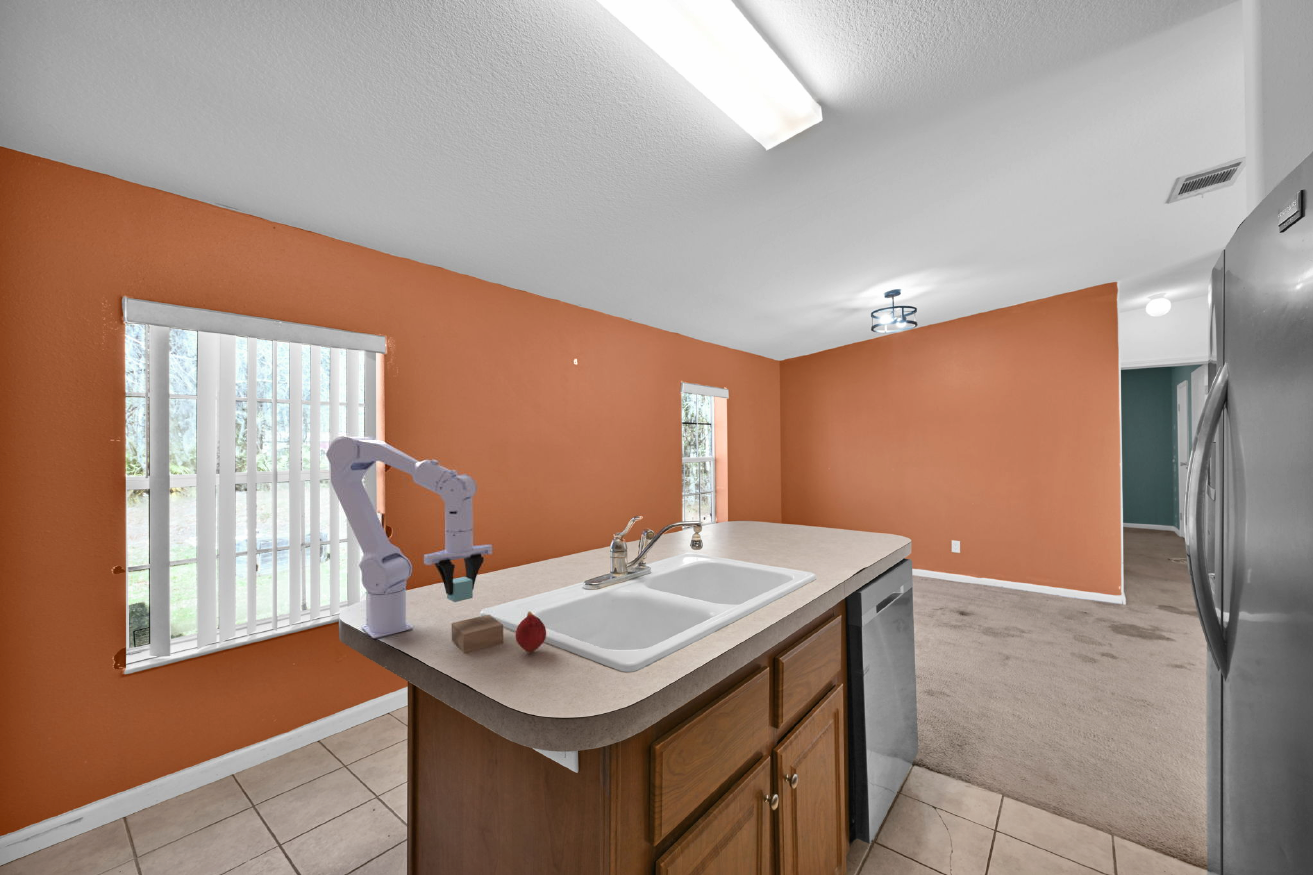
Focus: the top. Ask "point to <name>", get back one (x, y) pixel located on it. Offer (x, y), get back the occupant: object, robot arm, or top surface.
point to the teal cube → (461, 589)
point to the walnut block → (477, 633)
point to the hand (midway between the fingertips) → (459, 591)
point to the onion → (530, 633)
